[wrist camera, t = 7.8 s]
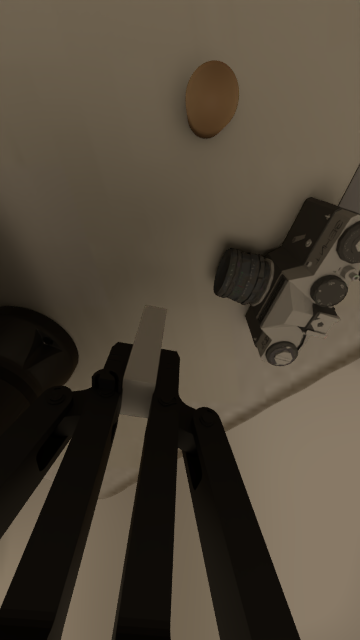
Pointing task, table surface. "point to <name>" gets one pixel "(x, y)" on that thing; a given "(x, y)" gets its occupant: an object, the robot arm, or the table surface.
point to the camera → (295, 280)
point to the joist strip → (352, 194)
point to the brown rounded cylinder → (211, 98)
